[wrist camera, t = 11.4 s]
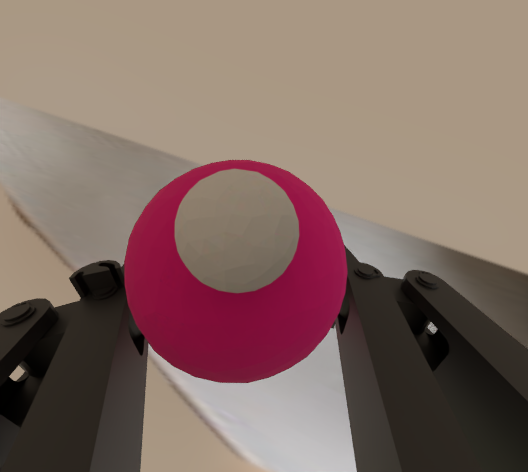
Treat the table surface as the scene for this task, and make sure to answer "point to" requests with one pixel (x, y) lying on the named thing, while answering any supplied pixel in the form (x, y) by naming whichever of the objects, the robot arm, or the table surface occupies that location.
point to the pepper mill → (235, 271)
